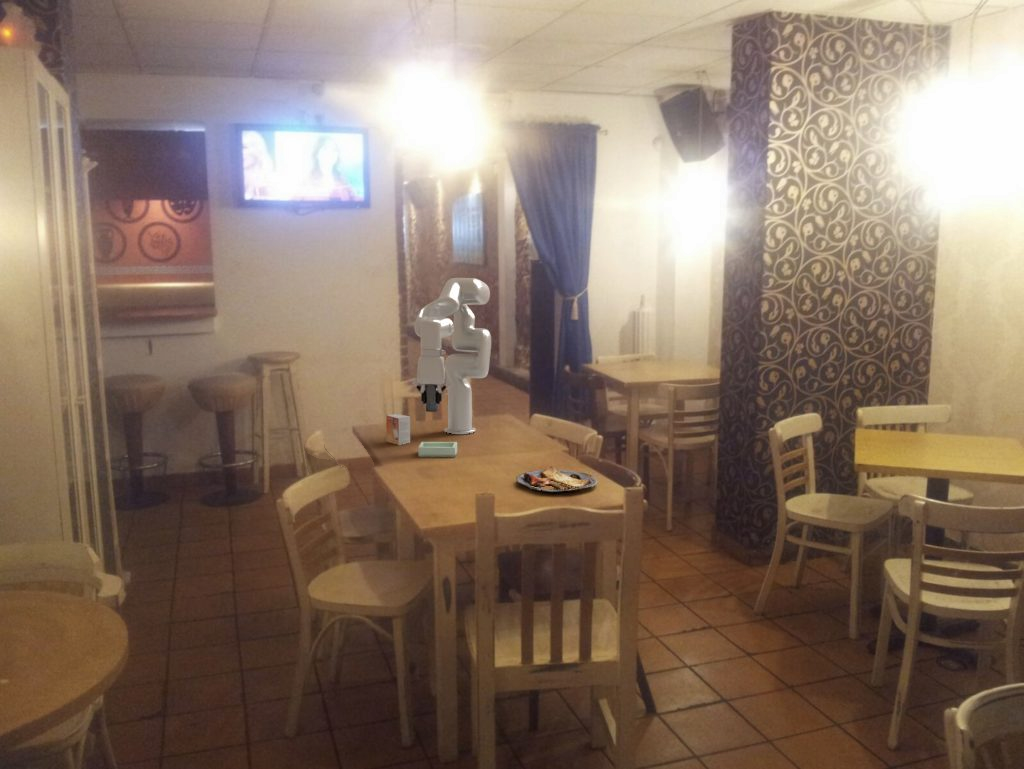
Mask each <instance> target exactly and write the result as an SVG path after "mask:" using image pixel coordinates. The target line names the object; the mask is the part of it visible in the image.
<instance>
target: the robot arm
mask: <svg viewBox="0 0 1024 769" xmlns="http://www.w3.org/2000/svg"><path fill="white" fill-rule="evenodd" d="M443 286H444V287H443V288H442V291H441V293H440V294H439V297H438V298H437V299H434V300H432V302H429V303H428V304H426V305H425V306H424V307H423V308H421V309H420V311H419V312H418V314H417V316H416V318H415V322H414V333H415V334H416V335H417V337H419V338H420V356H419V357H418V361H417V368H416V369H417V370H416V371H417V372H416V376H415V377H414V379H413V381H412V382H411V385H412V386H413V387H415V388H416V389H417V390H418V391H419V392H420V394H421V395H420V396H421V397H420V398H421V402H422V405H425V385H427V384H434V385H437V388H438V393H437V404H438V405H440V403H441V402H442V398H443V396H442V394H443V392H444V391H445V390H446V389H447V409H448V410H447V423H448V425H447V427H445V428H444V433H446V432H447V433H446V434H449V433H451V434H450V435H468V434H469V433H470V434H473V432H474V433H475V432H476V430H477V429H476V427H475V426H473V417H472V415H473V414H472V412H473V411H472V410H473V409H472V407H473V405H472V404H473V403H472V398H473V397H472V394H473V392H472V390H473V389H472V386H471V384H470V382H469V381H468V379H484V378H486V377H487V376H488V374H489V370H490V361H491V360H490V358H491V350H492V335H491V333H490V331H489V329H487V328H484V327H475V323H476V322H475V321H476V317H475V314H474V312H473V311H472V310H471V308H470V307H469V306H468V305H473V306H478V305H480V306H482V305H486V304H487V303H489V300H490V297H491V291H490V288H489V286H488V284H487V283H485V282H484V281H482V280H480V279H478V278H474V277H452V278H450V279H448V280H447V281H446V282H445V284H444V285H443ZM450 316H453V321H452V319H451V318H449V317H450ZM450 336H452V337H451V347H452V349H453V350H455V351H457V352H470V353H451V354H450V355H448V356H447V357H446V359H445V357H444V356H443V355H446V353H447V352H446V349H445V350H444V349H443V348H442V345H443V344H442V339H447V338H450ZM471 352H473V353H472V354H471ZM475 353H476V354H475ZM442 385H443V386H442Z"/></svg>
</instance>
